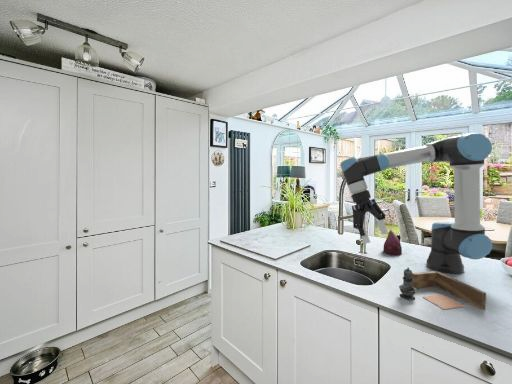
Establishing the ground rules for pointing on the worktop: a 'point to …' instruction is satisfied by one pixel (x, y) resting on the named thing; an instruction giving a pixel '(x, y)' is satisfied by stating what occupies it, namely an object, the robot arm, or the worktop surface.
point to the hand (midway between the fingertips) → (376, 238)
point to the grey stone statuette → (407, 286)
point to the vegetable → (392, 245)
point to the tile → (443, 301)
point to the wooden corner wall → (450, 287)
